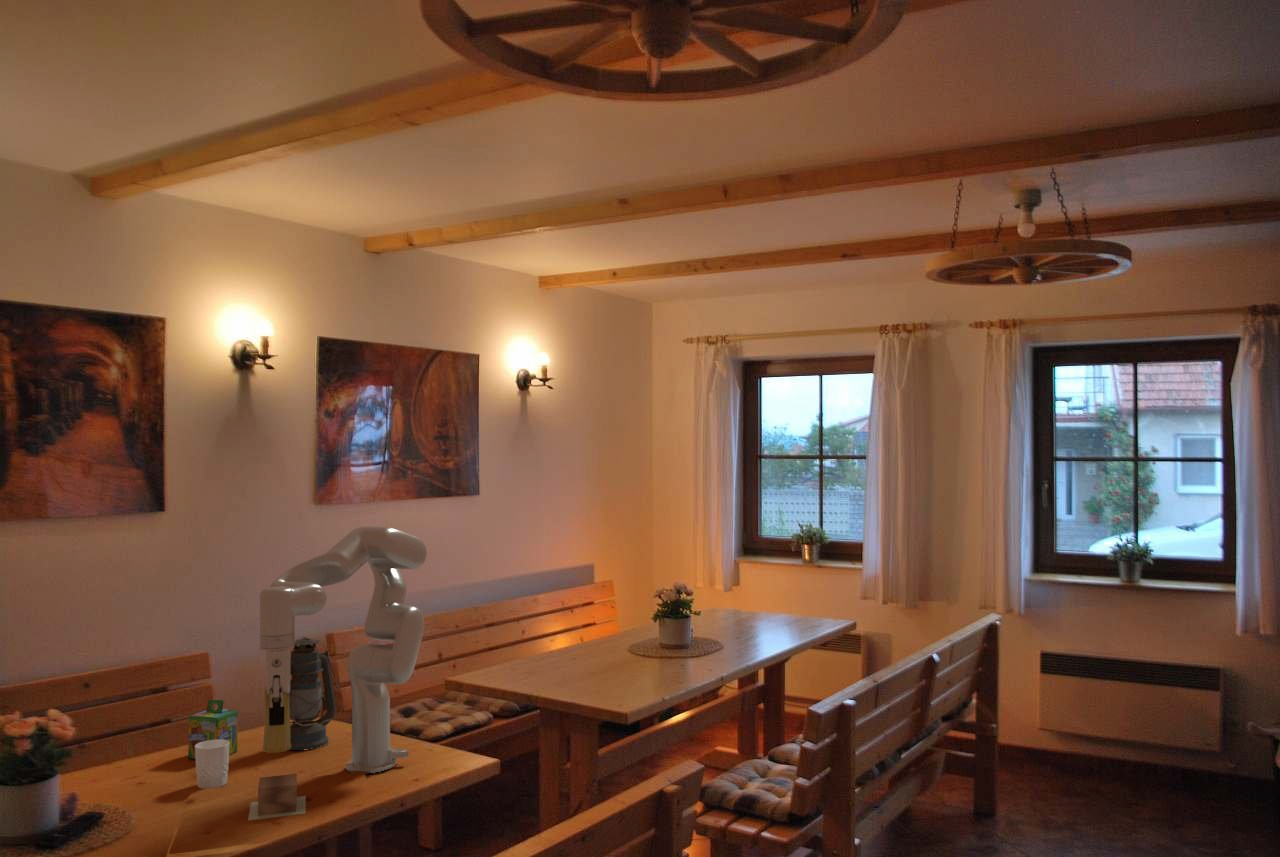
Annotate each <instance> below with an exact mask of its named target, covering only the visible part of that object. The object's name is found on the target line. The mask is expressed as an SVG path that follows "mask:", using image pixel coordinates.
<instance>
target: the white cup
mask: <svg viewBox="0 0 1280 857" xmlns="http://www.w3.org/2000/svg"><path fill="white" fill-rule="evenodd" d="M229 744H230V742H229V741H228V740H222V739H217V740H208V741H204V742H200V743H198V744H196V745H195V759H194V760H195V770H196V772H195V774H196V784H197V787H198V788H199V789H204V790H208V789H217V788H220V787H223V786H225V785H226V784H227V783H228V773H229V772H228V771H229V764H230V763H229V762H230V761H229V760H230V755H229Z"/></svg>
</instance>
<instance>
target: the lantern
mask: <svg viewBox="0 0 1280 857" xmlns="http://www.w3.org/2000/svg"><path fill="white" fill-rule="evenodd" d="M318 643H320V640H318V639H314V638H308V637H306V636H300V639H295V647H294V648H292V649H293V650H290V664H291V665H290V669H291V673H290V676H291V678H290V692H289V706H290V720H291V721H290V743H291V748H290V749H289V750H304V749H311V748H317V747H320V746H323V745H325V744H327V743H328V741H329V736H328V735H327V725H328V724H329V723H330V722H331V721H332V720H335V719H337V718H338V717H339V716H340V715H341V713H342V711H343V710H342V709H343V701H342V700H343V699H342V694H341V692H340V687H339V683H338V680H337V677H336V673H335V671H334V668H333V665H332V662H331V659H330V653H329V651H328V650H325V651H323V652H321V653H320V652H319V649H317V644H318ZM331 671H332V672H331ZM319 673H321V677H322V678H320V677H319ZM331 673H333V677H334V680H335V684H336V688H337V691H338V696H339V700H340V710H339V712H338V714H337V715H336V709H337V708H336V707H337V706H336V705H337V704H336V699H335V692H334V687H333V681H332V674H331ZM322 686H323V688H324V689H323V688H322ZM325 711H326V712H325ZM320 712H321V716H319V714H320ZM324 712H325V714H324ZM335 715H336V716H335ZM328 744H329V743H328ZM328 744H327V745H328ZM323 747H324V746H323Z"/></svg>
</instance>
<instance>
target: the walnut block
mask: <svg viewBox="0 0 1280 857" xmlns="http://www.w3.org/2000/svg"><path fill="white" fill-rule="evenodd" d="M297 778H298V775H297V773H293V774H292V773H291V774H281V775H273V776H272V775H271V776H264V777H259V781H258V786H257V788H258V789H257V801H258V816H262V815H270V814H278V813H287V812H295V811H296V805H297V797H298V796H297V795H298V794H297V791H298V789H297V786H298V784H297V781H298V780H297Z"/></svg>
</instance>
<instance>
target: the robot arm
mask: <svg viewBox="0 0 1280 857" xmlns="http://www.w3.org/2000/svg"><path fill="white" fill-rule="evenodd" d="M427 554H428V553H427V547H426V545H425V543H424V541H423V540H422V539H420V538H419V537H417V536H415V535H412V534H410V533H407V532H405V531H403V530H400V529H395V528H393V527H390V526H389V527H388V526H359V527H356V528H355V529H353V530H351V531H350V532H348V534H346V535H345V536H344V537H343V538H342V539H340V540H339V542H337V543H335V545H333V546H332V547H331V548H330V549H329V550H327V551H326V552H325V553H322V554H321V555H318V556H315V557H313V558H311V559H308V560H306V561H304V562H300V563H299V564H297V565H294V566H293V567H291V568H289V569H287V570H286V571H285V572H283V573H282V574H281V575H280V576H279V577H278V578H276V579H275V580H273V581H272V583H271V584H270V586H269V587H266V588H262V590H261V591H260V594H259V650H260V651H264V653H265V654H264V655H265V660H264V661H265V662H264V665H265V684H266V686H267V693H268V694H269V695H270V707H269V725H270V726H274V725H283V724H284V706H283V691H284V692H287V693H289V692H290V680H291V675H290V673H291V669H290V665H291V664H290V659H291V650H292V649H293V648H294V647H295V640H296V639H295V638H296V637H295V632H296V631H295V629H296V627H295V626H296V624H295V620H296V619H295V618H296V616H312V615H315V614H316V613H319V612H321V610H322V609H324V606H325V605H326V603H327V593H326V591H325V589H324V588H323V587H326V586H332V585H336V584H339V583H343V582H345V581H347V580H348V579H350V578H351V577H352V576H354V574H355V573H356V572H358V571H359V570H360V569H361V568H362V567H363V566H364V565H365V564H366V563H367V562H368V564H369V567H370V570H371V571H372V575H373V579H374V587H373V592H372V596H371V601H370V604H369V608H368V611H367V614H366V616H365V621H364V629H363V630H364V633H365V635H366V636H367V637H368V638H369V639H371V640H375V641H383V642H394V643H393V645H390V644H389V645H387V644H379V643H376V644H375V643H363V644H360V645H357V646H355V647H354V648H353V649H352V650H351V651H350V653H349V654H348V657H347V673H348V677H349V681H350V688H351V746H352V747H351V755H352V756H351V759H350V760H349V761H347V762H346V764H345V770H346V771H347V772H348V773H351V774H352V773H360V772H361V773H362V772H364V774H365V775H367V774H366V773H373V774H376V773H375V772H379V773H381V772H380V771H384V770H387V769H389V768H391V767H393V766H394V765H395V764H396V765H397V759H398V758H408V757H409V749H403V748H397V749H394V748H392V745H391V726H390V724H391V720H390V719H391V712H390V711H391V707H390V706H391V705H390V704H391V699H390V692H389V690H388V688H387V685H386V684H388V685H401V684H405V683H406V682H407V681H409V679H411V677H412V675H413V673H414V671H415V666H416V663H417V659H418V655H419V652H420V651H419V650H420V647H421V644H422V641H423V637H424V631H425V618H424V615H423V612H422V611H421V609H419V607H416V606H414V605H407V604H406V605H405V599H406V596H407V595H406V594H407V584H406V581H405V579H404V578H405V577H404V576H403V574H402V573H401V571H400V570H417V569H420V567H422V565H423V564H424V563H425V561H426V560H427V556H428V555H427ZM266 686H265V687H266ZM281 688H282V690H281ZM279 690H281V693H279ZM272 691H273V693H272ZM279 696H281V697H279ZM396 765H395V766H396ZM393 768H394V767H393ZM387 771H388V770H387ZM384 772H385V771H384Z"/></svg>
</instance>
